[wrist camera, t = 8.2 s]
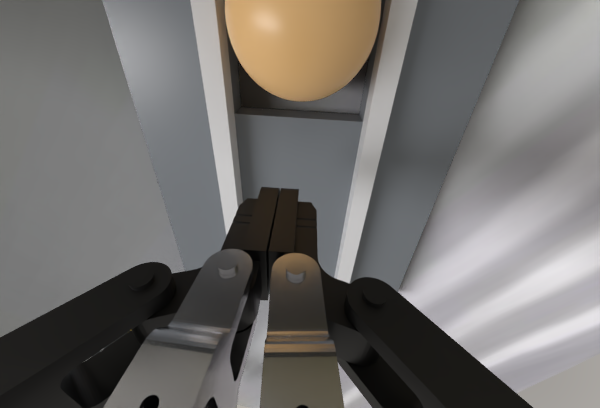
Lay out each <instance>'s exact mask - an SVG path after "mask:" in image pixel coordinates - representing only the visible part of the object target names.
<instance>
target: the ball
mask: <svg viewBox="0 0 600 408" xmlns="http://www.w3.org/2000/svg"><path fill="white" fill-rule="evenodd" d="M380 14H381V0H225V19H226V25H227V30H228V35H229V38H230V41H231V44H232V47H233V49H234V52H235V54H236V56H237V58H238V60H239V62H240V63H241V65H242V66H243V68H244V69H245V71H246V72H247V73H248V75H249V76H250V77H251V78H252V79H253V80H254V81H255V82H256V83H257V84H258V85H259V86H261V87H262V88H263V89H265V90H266V91H268V92H269V93H271V94H273V95H275V96H277V97H280V98H283V99H286V100H291V101H301V102H305V101H314V100H319V99H322V98H325V97H327V96H329V95H331V94H333V93H335V92H337V91H338V90H340V89H341V88H343V87H344V86H345V85H347V84H348V83H349V82H350V81H351V80H352V79H353V78H354V77H355V76H356V75H357V73H358V72H359V71H360V69H361V68H362V66H363V65H364V63H365V62H366V60H367V58H368V56H369V54H370V53H371V50H372V48H373V45H374V43H375V39H376V36H377V32H378V27H379V21H380Z"/></svg>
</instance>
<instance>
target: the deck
mask: <svg viewBox="0 0 600 408" xmlns="http://www.w3.org/2000/svg"><path fill="white" fill-rule="evenodd" d="M102 1H103V4H104V8H105V11H106V14H107V18H108V21H109V24H110V27H111V31H112V34H113V37H114V40H115V44H116V47H117V50H118V53H119V57H120V60H121V63H122V66H123V70H124V73H125V76H126V80H127V83H128V86H129V89H130V93H131V96H132V99H133V102H134V106H135V109H136V112H137V115H138V119H139V122H140V125H141V128H142V132H143V135H144V138H145V142H146V145H147V148H148V151H149V155H150V158H151V161H152V164H153V168H154V171H155V174H156V177H157V181H158V184H159V187H160V190H161V194H162V197H163V200H164V203H165V207H166V210H167V213H168V217H169V220H170V223H171V226H172V230H173V233H174V236H175V239H176V243H177V246H178V249H179V252H180V256H181V259H182V262H183V265H184V269H185V271H189V270H194V269H198V268H201V267H203V265H204V263H205V262H206V260H207V259H208V258H209V257H210V256H212V255H213V254H215V253H216V252H219V251H221V248H222V246H223V243H224V241H225V239H226V236H227V234H228V231H229V229H230V226H231V224H232V223H233V219H234V217H235V216H236V212H237V210H238V207H239V205H240V204H241V203H243V202H244V201H245V200H246V199H247V198H253V199H258V196H259V193H260V189H261V187H273V188H280V190H281V188H289V189H299V197H298V201H300V202H311V203H312V204H313V206H314V207H315V209H316V210H317V248H318V261H319V264H320V266H321V268H322V269H323V270H324V271H325V272H326V273H327V274H329V275H330V276H332V277H334V278H336V279H338V280H341V281H344V282H347V283H350V284H351V283H352V282H353V281H354V280H356V279H358V278H362V277H372V278H376V279H379V280H382V281H384V282H385V283H387V284H388V285H390V286H391V287H392V288H393V289H394V290H396V291H397V292H398V290H399V287H400V285H401V282H402V280H403V278H404V275H405V273H406V270H407V268H408V266H409V263H410V261H411V259H412V256H413V254H414V251H415V249H416V247H417V244H418V242H419V239H420V237H421V235H422V232H423V230H424V227H425V225H426V223H427V220H428V218H429V215H430V213H431V211H432V208H433V206H434V203H435V201H436V199H437V196H438V194H439V191H440V189H441V187H442V184H443V182H444V179H445V177H446V175H447V172H448V170H449V167H450V165H451V163H452V160H453V158H454V155H455V153H456V151H457V148H458V146H459V143H460V141H461V139H462V136H463V134H464V132H465V129H466V127H467V124H468V122H469V120H470V117H471V115H472V112H473V110H474V108H475V105H476V103H477V100H478V98H479V96H480V93H481V91H482V88H483V86H484V84H485V81H486V79H487V76H488V74H489V72H490V69H491V67H492V64H493V62H494V60H495V57H496V55H497V52H498V50H499V48H500V45H501V43H502V40H503V38H504V36H505V33H506V31H507V28H508V26H509V24H510V21H511V19H512V16H513V14H514V12H515V9H516V7H517V5H518V2H519V0H381V14H380V21H379V27H378V32H377V36H376V39H375V43H374V45H373V48H372V50H371V53H370V55H369V61H368V67H367V72H366V78H365V84H364V90H363V95H362V101H361V107H360V113H359V114H344V113H328V112H312V111H296V110H280V109H264V108H248V107H241V99H240V86H239V74H238V61H237V56H236V54H235V52H234V49H233V47H232V44H231V41H230V38H229V35H228V30H227V25H226V19H225V0H102ZM269 294H270V290H269Z"/></svg>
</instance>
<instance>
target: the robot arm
mask: <svg viewBox="0 0 600 408" xmlns="http://www.w3.org/2000/svg"><path fill="white" fill-rule="evenodd" d="M298 197H299V189H289V188H281V190H280V188H273V187H261V189H260V193H259V196H258V199H253V198H247V199H246V200H245V201H244V202H243V203H241V204H240V205H239V207H238V210H237V212H236V216H235V217H234V219H233V223H232V224H231V226H230V229H229V231H228V234H227V236H226V239H225V241H224V243H223V246H222V248H221V251H219V252H216V253H215V254H213V255H212V256H210V257H209V258H208V259H207V260H206V262H205V263H204V265H203V267H201V268H198V269H194V270H189V271H184V272H179V273H174V274H172V273H171V270H170V268H169V267H168V266H167V265H165V264H163V263H158V262H149V263H144V264H140V265H137V266H135V267H133V268H131V269H129V270H127V271H125V272H123V273H121V274H119V275H118V276H116V277H114V278H112V279H110V280H108V281H106V282H104V283H102V284H101V285H99V286H97V287H95V288H93V289H91V290H89V291H87V292H85V293H84V294H82V295H80V296H78V297H76V298H74V299H72V300H70V301H68V302H67V303H65V304H63V305H61V306H59V307H57V308H55V309H53V310H51V311H50V312H48V313H46V314H44V315H42V316H40V317H38V318H36V319H34V320H33V321H31V322H29V323H27V324H25V325H23V326H21V327H19V328H17V329H16V330H14V331H12V332H10V333H8V334H6V335H4V336H2V337H0V408H237V403H238V393H239V387H240V382H241V378H242V374H243V371H244V367H245V363H246V360H247V356H248V352H249V349H250V345H251V341H252V337H253V334H254V330H255V326H256V322H257V314H258V309H259V304H260V300H268V296H269V290H270V300H269V314H268V328H267V338H266V340H265V347H264V358H263V371H262V384H261V397H260V408H344V403H343V396H342V389H341V382H340V375H339V368H338V363H339V364H340V366H341V367H342V368H343V370H344V371H345V372H346V374H347V375H348V376H349V378H350V379H351V380H352V381H353V383H354V384H355V385H356V387H357V388H358V389H359V391H360V392H361V393H362V395H363V396H364V397H365V398H366V400H367V401H368V402H369V404H370V405H371V406H372V408H533V407H532V406H531V405H529V404H528V403H527V402H526V401H525V400H524V399H522V398H521V397H520V396H519V395H518V394H516V393H515V392H514V391H513V390H512V389H511V388H509V387H508V386H507V385H506V384H505V383H504V382H502V381H501V380H500V379H499V378H498V377H497V376H495V375H494V374H493V373H492V372H491V371H490V370H488V369H487V368H486V367H485V366H484V365H482V364H481V363H480V362H479V361H478V360H477V359H475V358H474V357H473V356H472V355H471V354H470V353H468V352H467V351H466V350H465V349H464V348H463V347H461V346H460V345H459V344H458V343H457V342H455V341H454V340H453V339H452V338H451V337H450V336H448V335H447V334H446V333H445V332H444V331H443V330H441V329H440V328H439V327H438V326H437V325H436V324H434V323H433V322H432V321H431V320H430V319H428V318H427V317H426V316H425V315H424V314H423V313H421V312H420V311H419V310H418V309H417V308H416V307H414V306H413V305H412V304H411V303H410V302H409V301H407V300H406V299H405V298H404V297H403V296H402V295H400V294H399V293H398V292H397V291H396V290H394V289H393V288H392V287H391V286H390V285H388V284H387V283H385V282H384V281H382V280H379V279H376V278H372V277H362V278H358V279H356V280H354V281H353V282H352V283H351V284H350V283H347V282H344V281H341V280H338V279H336V278H334V277H332V276H330V275H329V274H327V273H326V272H325V271H324V270H323V269H322V268H321V266H320V264H319V261H318V248H317V210H316V209H315V207H314V206H313V204H312V203H311V202H300V201H298ZM130 330H131V331H130ZM129 331H130V332H129ZM127 332H128V333H127ZM126 333H127V334H126ZM124 334H125V335H124ZM123 335H124V336H123ZM121 336H122V337H121ZM120 337H121V338H120ZM118 338H119V339H118ZM117 339H118V340H117ZM115 340H116V341H115ZM114 341H115V342H114ZM112 342H113V343H112ZM111 343H112V344H111ZM109 344H110V345H109ZM108 345H109V346H108ZM106 346H107V347H106ZM105 347H106V348H105ZM103 348H104V349H103ZM102 349H103V350H102ZM100 350H101V351H100ZM99 351H100V352H99ZM97 352H98V353H97ZM96 353H97V354H96ZM95 354H96V355H95ZM93 355H94V356H93ZM92 356H93V357H92ZM90 357H91V358H90ZM89 358H90V359H89ZM87 359H88V360H87ZM86 360H87V361H86ZM84 361H85V362H84Z"/></svg>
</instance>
